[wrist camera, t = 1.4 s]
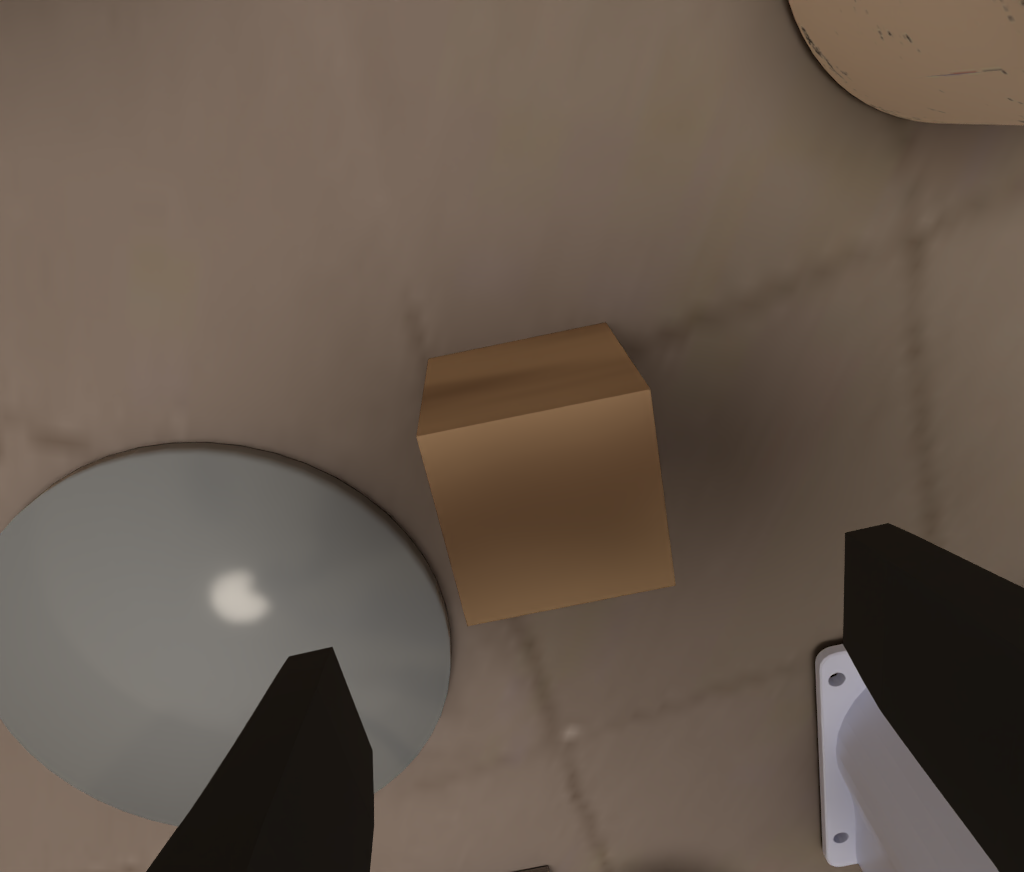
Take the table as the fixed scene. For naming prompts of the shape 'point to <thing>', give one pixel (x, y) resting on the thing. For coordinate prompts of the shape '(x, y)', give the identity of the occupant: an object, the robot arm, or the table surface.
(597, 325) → the walnut block
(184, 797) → the slate dish
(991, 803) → the robot arm
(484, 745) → the table surface
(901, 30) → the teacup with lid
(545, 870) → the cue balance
